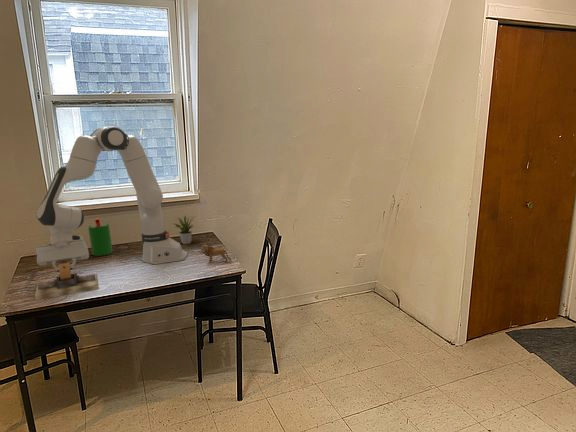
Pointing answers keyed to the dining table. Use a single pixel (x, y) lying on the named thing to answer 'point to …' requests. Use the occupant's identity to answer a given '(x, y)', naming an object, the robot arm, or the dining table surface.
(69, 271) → the block
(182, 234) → the house plant
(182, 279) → the dining table surface
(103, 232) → the motor
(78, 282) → the base
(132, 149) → the robot arm
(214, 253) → the lion figurine
